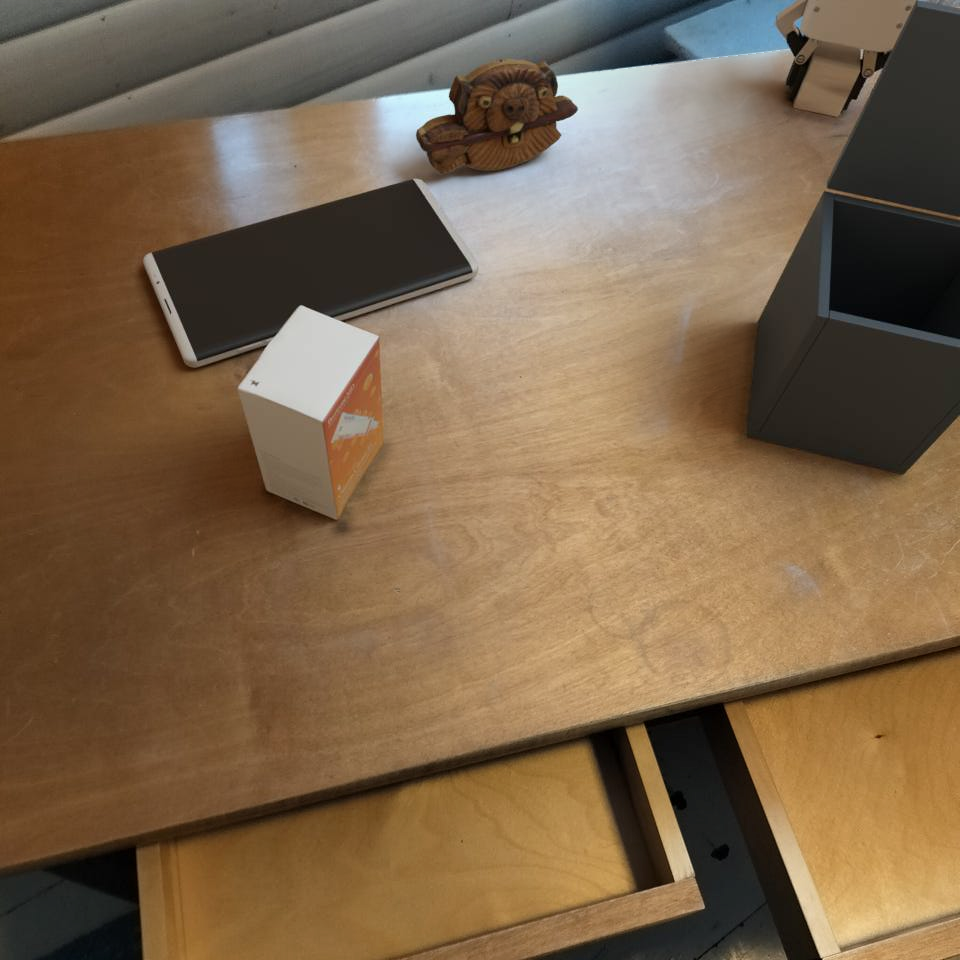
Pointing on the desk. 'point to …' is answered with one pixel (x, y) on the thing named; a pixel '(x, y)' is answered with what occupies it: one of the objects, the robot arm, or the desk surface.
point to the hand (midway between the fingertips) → (818, 95)
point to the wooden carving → (497, 117)
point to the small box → (315, 410)
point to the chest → (862, 336)
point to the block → (828, 79)
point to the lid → (911, 120)
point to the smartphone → (306, 268)
